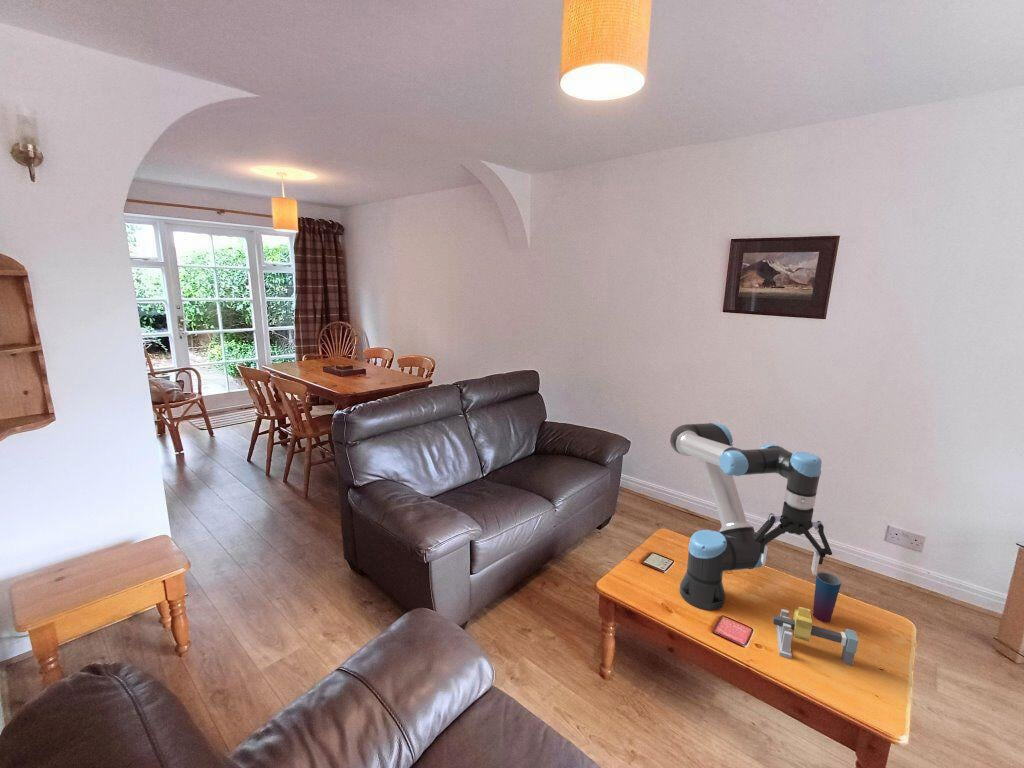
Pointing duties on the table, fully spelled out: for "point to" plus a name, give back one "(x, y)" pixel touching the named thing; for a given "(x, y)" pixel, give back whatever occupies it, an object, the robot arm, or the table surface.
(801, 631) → the sleeve
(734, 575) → the table surface
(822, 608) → the cup
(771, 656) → the table surface
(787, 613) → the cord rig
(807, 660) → the table surface
